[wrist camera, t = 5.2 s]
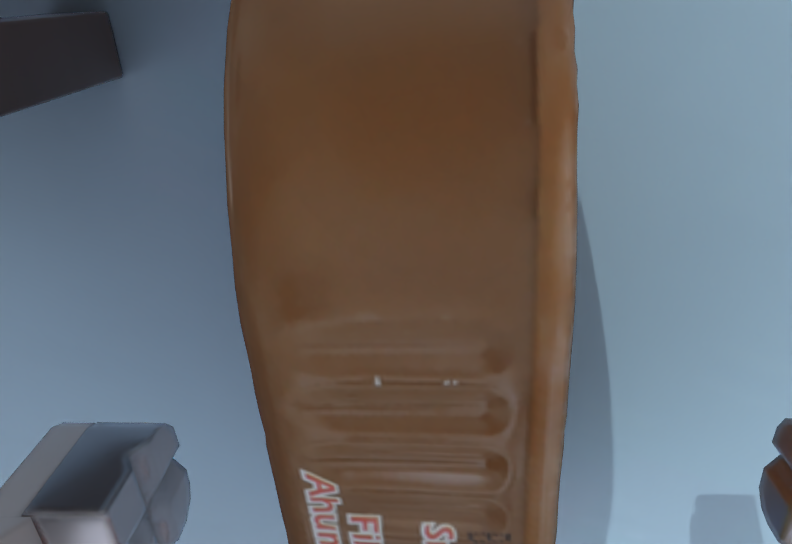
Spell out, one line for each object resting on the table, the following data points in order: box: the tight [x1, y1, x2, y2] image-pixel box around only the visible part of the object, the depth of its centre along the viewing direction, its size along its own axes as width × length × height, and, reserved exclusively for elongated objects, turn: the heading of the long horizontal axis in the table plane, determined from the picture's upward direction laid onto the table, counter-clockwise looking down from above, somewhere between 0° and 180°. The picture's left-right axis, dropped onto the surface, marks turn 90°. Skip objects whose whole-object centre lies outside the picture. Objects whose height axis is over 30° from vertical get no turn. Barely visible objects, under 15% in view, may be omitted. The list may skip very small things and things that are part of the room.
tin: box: [224, 0, 579, 544], centre depth 9 cm, size 15×3×8 cm, turn 4°
